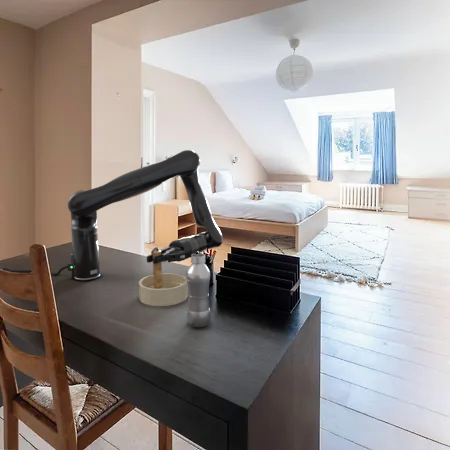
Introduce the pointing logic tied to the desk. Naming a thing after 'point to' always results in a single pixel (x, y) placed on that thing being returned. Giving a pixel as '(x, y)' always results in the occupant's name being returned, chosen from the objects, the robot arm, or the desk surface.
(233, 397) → the desk surface
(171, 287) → the bowl
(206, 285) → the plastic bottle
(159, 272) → the wooden t-shaped block
